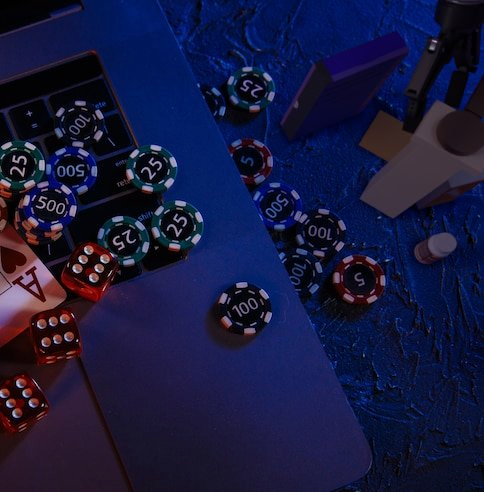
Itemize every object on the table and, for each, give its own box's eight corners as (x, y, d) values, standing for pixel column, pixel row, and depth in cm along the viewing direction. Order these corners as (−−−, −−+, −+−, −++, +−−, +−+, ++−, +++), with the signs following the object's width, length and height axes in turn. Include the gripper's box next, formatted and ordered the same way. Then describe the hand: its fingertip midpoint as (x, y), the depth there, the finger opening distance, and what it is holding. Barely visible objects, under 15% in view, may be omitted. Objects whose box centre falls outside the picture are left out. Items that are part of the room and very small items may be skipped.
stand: (416, 197, 131) (502, 135, 102) (399, 227, 129) (482, 172, 100) (366, 168, 133) (436, 98, 104) (348, 197, 131) (415, 134, 102)
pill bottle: (418, 266, 127) (439, 256, 119) (410, 245, 128) (430, 233, 120) (440, 261, 127) (462, 250, 119) (432, 240, 129) (453, 228, 120)
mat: (428, 138, 135) (429, 137, 134) (408, 173, 133) (408, 172, 132) (379, 110, 137) (380, 109, 136) (358, 144, 134) (359, 144, 134)
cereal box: (349, 95, 138) (397, 29, 114) (360, 113, 136) (410, 50, 113) (280, 123, 136) (314, 62, 113) (290, 141, 135) (327, 83, 111)
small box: (418, 210, 130) (450, 188, 118) (406, 183, 132) (437, 158, 119) (453, 201, 131) (489, 178, 118) (441, 174, 133) (476, 148, 120)
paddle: (514, 84, 105) (521, 79, 103) (470, 164, 101) (476, 160, 99) (473, 62, 106) (479, 56, 104) (428, 140, 102) (433, 135, 100)
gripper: (480, -25, 107) (447, 90, 120) (399, 13, 95) (372, 135, 108) (526, -17, 102) (486, 102, 115) (446, 23, 90) (412, 150, 103)
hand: (431, 119), depth 111 cm, fingers open, 13 cm apart
